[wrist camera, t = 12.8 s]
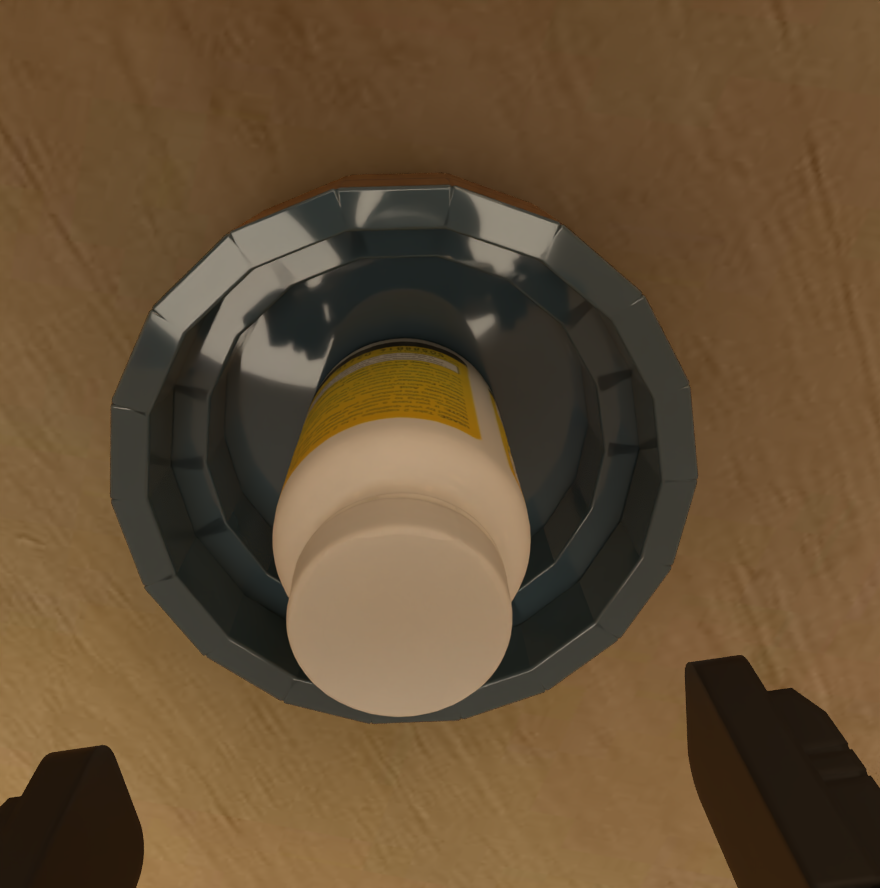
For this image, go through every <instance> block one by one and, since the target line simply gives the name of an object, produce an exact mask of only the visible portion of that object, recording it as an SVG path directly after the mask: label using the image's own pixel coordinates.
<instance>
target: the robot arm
mask: <svg viewBox="0 0 880 888" xmlns="http://www.w3.org/2000/svg"><path fill="white" fill-rule="evenodd" d="M685 691H686V716H687V742H688V756H689V762H690V768H691V772H692V777H693V780H694V784H695V787H696V790H697V793H698V796H699V799H700V801H701V803H702V806H703V808H704V810H705V813H706V815H707V817H708V820H709V822H710V824H711V827H712V829H713V831H714V834H715V836H716V838H717V840H718V843H719V845H720V847H721V850H722V852H723V854H724V857H725V859H726V861H727V864H728V866H729V868H730V871H731V873H732V875H733V878H734V880H735V882H736V884H737V887H738V888H880V788H879V787H878V785H877V784H876V782H875V781H874V779H873V778H872V777H871V776H868V775H867V772H866V768H865V767H864V765H863V764H862V762H861V761H860V760H859V758H858V757H857V755H856V754H855V753H854V751H853V750H852V749H849V747H848V743H847V741H846V740H845V738H844V737H843V736H842V734H841V733H840V731H839V730H838V729H837V727H836V726H835V724H834V723H833V721H832V720H831V719H830V717H829V716H828V714H827V713H826V712H825V711H824V710H822V709H821V708H819V707H818V706H817V705H815V704H814V703H812V702H811V701H810V700H808V699H807V698H805V697H804V696H802V695H801V694H800V693H798V692H797V691H795V690H794V689H793V688H787V689H780V690H773V691H767V690H766V689H765V687H764V685H763V684H762V682H761V681H760V679H759V677H758V676H757V674H756V673H755V671H754V669H753V668H752V666H751V665H750V663H749V662H748V660H747V659H746V658H745V657H744V656H742V655H737V656H730V657H723V658H716V659H709V660H702V661H695V662H688V663H687V664H686V668H685ZM143 856H144V840H143V832H142V828H141V824H140V821H139V819H138V816H137V813H136V811H135V808H134V806H133V803H132V800H131V798H130V795H129V792H128V790H127V787H126V784H125V782H124V779H123V776H122V774H121V771H120V768H119V766H118V763H117V760H116V758H115V756H114V753H113V752H112V750H111V749H110V748H109V747H108V746H106V745H100V746H93V747H87V748H80V749H73V750H66V751H59V752H52V753H49V754H48V755H46V756H45V757H44V758H43V759H42V761H41V762H40V764H39V766H38V767H37V769H36V771H35V773H34V775H33V776H32V778H31V780H30V782H29V783H28V785H27V787H26V789H25V790H24V792H23V794H22V796H20V797H13V798H9V799H8V800H7V801H6V802H5V803H3V804H2V805H1V806H0V888H136V886H137V883H138V880H139V877H140V874H141V870H142V865H143Z"/></svg>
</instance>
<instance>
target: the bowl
mask: <svg viewBox="0 0 880 888" xmlns="http://www.w3.org/2000/svg"><path fill="white" fill-rule="evenodd" d="M400 338H409V339H419V340H425V341H429V342H432V343H436V344H439V345H441V346H443V347H446V348H448V349H450V350H452V351H454V352H455V353H457V354H458V355H460V356H461V357H463V358H464V359H465V360H467V361H468V362H469V363H470V364H471V365H472V366H473V367H474V368H475V369H476V370H477V371H478V372H479V373H480V374H481V376H482V377H483V379H484V380H485V381H486V383H487V385H488V386H489V388H490V390H491V392H492V394H493V396H494V399H495V401H496V404H497V406H498V409H499V413H500V416H501V420H502V423H503V427H504V430H505V434H506V437H507V441H508V445H509V447H510V452H511V456H512V459H513V462H514V466H515V469H516V473H517V477H518V480H519V483H520V487H521V490H522V494H523V497H524V500H525V504H526V508H527V513H528V519H529V524H530V537H531V543H530V555H529V561H528V566H527V569H526V573H525V576H524V578H523V581H522V583H521V585H520V588H519V590H518V592H517V593H516V595H515V597H514V599H513V600H512V602H511V605H512V630H511V636H510V640H509V644H508V647H507V650H506V652H505V655H504V657H503V659H502V661H501V663H500V664H499V666H498V667H497V669H496V671H495V672H494V673H493V674H492V676H491V677H490V678H489V679H488V680H487V681H486V682H485V683H484V684H483V685H482V686H481V687H480V688H479V689H477V690H476V691H475V692H473V693H472V694H470V695H469V696H467V697H466V698H464V699H463V700H461V701H459V702H458V703H456V704H454V705H452V706H449V707H446V708H444V709H441V710H439V711H435V712H432V713H427V714H422V715H417V716H406V717H392V716H381V715H375V714H370V713H366V712H363V711H360V710H356V709H353V708H351V707H349V706H346V705H344V704H342V703H340V702H338V701H336V700H335V699H333V698H331V697H330V696H328V695H327V694H325V693H324V692H323V691H322V690H321V689H319V688H318V687H317V686H316V685H315V684H314V683H313V682H312V681H311V680H310V679H309V678H308V677H307V676H306V674H305V673H304V671H303V670H302V668H301V667H300V666H299V664H298V662H297V660H296V658H295V657H294V654H293V652H292V649H291V647H290V643H289V639H288V635H287V628H286V613H287V605H288V601H289V597H288V596H287V594H286V592H285V589H284V587H283V586H282V583H281V581H280V578H279V576H278V573H277V569H276V565H275V560H274V554H273V525H274V519H275V513H276V508H277V504H278V501H279V498H280V494H281V491H282V488H283V485H284V482H285V479H286V476H287V473H288V470H289V467H290V464H291V461H292V457H293V455H294V452H295V449H296V446H297V443H298V440H299V438H300V435H301V432H302V428H303V425H304V422H305V419H306V416H307V413H308V410H309V407H310V404H311V402H312V399H313V397H314V395H315V393H316V392H317V390H318V388H319V386H320V385H321V383H322V382H323V380H324V379H325V377H326V376H327V375H328V374H329V373H330V371H331V370H332V369H333V368H334V367H335V366H336V365H337V364H338V363H339V362H340V361H341V360H343V359H344V358H345V357H347V356H348V355H350V354H351V353H353V352H355V351H356V350H358V349H360V348H362V347H365V346H367V345H370V344H372V343H376V342H379V341H384V340H389V339H400ZM697 478H698V467H697V456H696V445H695V433H694V422H693V411H692V399H691V388H690V385H689V380H688V378H687V376H686V375H685V373H684V371H683V369H682V367H681V365H680V363H679V361H678V359H677V357H676V355H675V353H674V351H673V349H672V347H671V345H670V343H669V341H668V339H667V338H666V336H665V334H664V332H663V330H662V328H661V326H660V324H659V322H658V320H657V318H656V316H655V314H654V312H653V310H652V308H651V306H650V304H649V302H648V301H647V299H646V297H645V296H644V295H643V294H642V292H641V291H640V290H639V289H638V288H637V287H636V286H634V285H633V284H632V283H631V282H630V281H629V280H628V279H626V278H625V277H624V276H623V275H622V274H621V273H619V272H618V271H617V270H616V269H615V268H614V267H612V266H611V265H610V264H609V263H608V262H607V261H606V260H604V259H603V258H602V257H601V256H600V255H599V254H597V253H596V252H595V251H594V250H593V249H592V248H590V247H589V246H588V245H587V244H586V243H585V242H584V241H582V240H581V239H580V238H579V237H578V236H577V235H575V234H574V233H573V232H572V231H571V230H570V229H569V228H567V227H566V226H565V225H564V224H562V223H561V222H559V221H558V220H556V219H555V218H553V217H552V216H551V215H549V214H548V213H546V212H545V211H543V210H542V209H540V208H539V207H537V206H535V205H534V204H532V203H530V202H527V201H524V200H522V199H519V198H516V197H513V196H510V195H507V194H505V193H502V192H499V191H496V190H493V189H491V188H488V187H485V186H482V185H479V184H476V183H474V182H471V181H468V180H465V179H462V178H460V177H457V176H454V175H451V174H448V173H446V174H444V173H442V172H438V173H399V174H360V175H350V176H345V177H342V178H340V179H337V180H335V181H333V182H330V183H328V184H325V185H323V186H321V187H318V188H316V189H313V190H311V191H309V192H306V193H304V194H301V195H299V196H297V197H294V198H292V199H289V200H287V201H285V202H282V203H280V204H278V205H275V206H273V207H270V208H268V209H266V210H263V211H262V212H260V213H259V214H257V215H255V216H254V217H252V218H251V219H249V220H247V221H246V222H244V223H242V224H241V225H239V226H238V227H236V228H234V229H233V230H231V231H230V232H229V233H227V234H226V235H225V236H224V237H223V238H222V239H221V240H220V241H219V242H217V243H216V244H215V245H214V246H213V247H212V248H211V249H210V250H209V251H208V252H207V253H206V254H205V255H204V256H203V257H202V258H201V259H200V260H199V261H198V262H197V263H196V264H195V265H194V266H193V267H192V268H191V269H190V270H189V271H188V272H187V273H186V274H185V275H184V276H183V277H182V278H181V279H180V280H179V281H178V282H177V283H176V284H175V285H174V286H173V287H172V288H170V289H169V290H168V291H167V292H166V293H165V294H164V295H163V296H162V297H161V298H160V299H159V300H158V301H157V302H156V303H155V304H154V305H153V307H152V309H151V310H150V311H149V313H148V315H147V318H146V320H145V322H144V325H143V327H142V329H141V332H140V334H139V336H138V339H137V341H136V343H135V346H134V348H133V351H132V353H131V355H130V358H129V360H128V362H127V365H126V367H125V369H124V372H123V374H122V376H121V379H120V381H119V383H118V386H117V388H116V390H115V393H114V395H113V397H112V404H111V434H110V497H111V504H112V506H113V509H114V511H115V514H116V516H117V519H118V522H119V524H120V527H121V529H122V532H123V534H124V537H125V540H126V542H127V545H128V547H129V550H130V552H131V555H132V557H133V560H134V563H135V565H136V568H137V570H138V573H139V575H140V578H141V581H142V583H143V585H144V586H145V587H144V588H145V590H146V591H147V592H148V593H149V594H150V595H151V596H152V598H153V599H154V600H155V601H156V602H157V603H158V604H159V606H160V607H161V608H162V609H163V610H164V611H165V612H166V614H167V615H168V616H169V617H170V618H171V619H172V620H173V622H174V623H175V624H176V625H177V626H178V627H179V628H180V630H181V631H182V632H183V633H184V634H185V635H186V636H187V638H188V639H189V640H190V641H191V642H192V643H193V644H194V646H195V647H196V648H197V649H198V650H199V651H200V652H201V654H202V655H206V657H207V658H209V659H211V660H212V661H214V662H216V663H217V664H219V665H221V666H222V667H224V668H226V669H227V670H229V671H231V672H232V673H234V674H236V675H238V676H239V677H241V678H243V679H244V680H246V681H248V682H249V683H251V684H253V685H254V686H256V687H258V688H260V689H261V690H263V691H265V692H266V693H268V694H270V695H271V696H273V697H275V698H276V699H278V700H280V701H284V703H286V704H290V705H294V706H298V707H302V708H306V709H310V710H315V711H319V712H323V713H327V714H331V715H335V716H339V717H343V718H347V719H351V720H355V721H359V722H364V723H368V724H370V723H371V722H372V724H388V723H411V722H435V721H459V720H460V719H467V718H470V717H472V716H475V715H478V714H481V713H484V712H487V711H490V710H493V709H496V708H499V707H502V706H505V705H508V704H511V703H514V702H517V701H520V700H523V699H526V698H529V697H532V696H535V695H538V694H541V693H544V692H545V690H549V689H551V688H552V687H554V686H555V685H556V684H558V683H559V682H561V681H562V680H563V679H565V678H566V677H568V676H569V675H570V674H572V673H573V672H575V671H576V670H577V669H579V668H580V667H582V666H583V665H584V664H586V663H587V662H589V661H590V660H591V659H593V658H594V657H596V656H597V655H598V654H600V653H601V652H603V651H604V650H605V649H607V648H608V647H610V646H611V645H612V644H614V643H615V642H617V640H618V638H621V637H622V635H623V634H624V633H625V631H626V630H627V629H628V627H629V626H630V625H631V623H632V622H633V620H634V619H635V618H636V616H637V615H638V614H639V612H640V611H641V610H642V608H643V607H644V605H645V604H646V603H647V601H648V600H649V599H650V597H651V596H652V595H653V593H654V592H655V590H656V589H657V588H658V586H659V585H660V584H661V582H662V581H663V580H664V578H665V577H666V575H667V574H668V573H669V571H670V570H671V566H672V565H673V563H674V559H675V556H676V553H677V549H678V546H679V542H680V539H681V536H682V532H683V529H684V525H685V522H686V519H687V515H688V512H689V508H690V505H691V501H692V498H693V495H694V491H695V488H696V484H697Z"/></svg>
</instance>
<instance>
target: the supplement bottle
mask: <svg viewBox="0 0 880 888" xmlns="http://www.w3.org/2000/svg"><path fill="white" fill-rule="evenodd" d="M530 543H531V537H530V524H529V519H528V513H527V508H526V504H525V500H524V497H523V494H522V490H521V487H520V483H519V480H518V477H517V473H516V469H515V466H514V462H513V459H512V456H511V452H510V447H509V445H508V441H507V437H506V434H505V430H504V427H503V423H502V420H501V416H500V413H499V409H498V406H497V404H496V401H495V399H494V396H493V394H492V392H491V390H490V388H489V386H488V385H487V383H486V381H485V380H484V379H483V377H482V376H481V374H480V373H479V372H478V371H477V370H476V369H475V368H474V367H473V366H472V365H471V364H470V363H469V362H468V361H467V360H465V359H464V358H463V357H461V356H460V355H458V354H457V353H455V352H454V351H452V350H450V349H448V348H446V347H443V346H441V345H439V344H436V343H432V342H429V341H425V340H419V339H409V338H400V339H389V340H384V341H379V342H376V343H372V344H370V345H367V346H365V347H362V348H360V349H358V350H356V351H355V352H353V353H351V354H350V355H348V356H347V357H345V358H344V359H343V360H341V361H340V362H339V363H338V364H337V365H336V366H335V367H334V368H333V369H332V370H331V371H330V373H329V374H328V375H327V376H326V377H325V379H324V380H323V382H322V383H321V385H320V386H319V388H318V390H317V392H316V393H315V395H314V397H313V399H312V402H311V404H310V407H309V410H308V413H307V416H306V419H305V422H304V425H303V428H302V432H301V435H300V438H299V440H298V443H297V446H296V449H295V452H294V455H293V457H292V461H291V464H290V467H289V470H288V473H287V476H286V479H285V482H284V485H283V488H282V491H281V494H280V498H279V501H278V504H277V508H276V513H275V519H274V525H273V554H274V560H275V565H276V569H277V573H278V576H279V578H280V581H281V583H282V586H283V587H284V589H285V592H286V594H287V596H288V597H289V601H288V605H287V613H286V628H287V635H288V639H289V643H290V647H291V649H292V652H293V654H294V657H295V658H296V660H297V662H298V664H299V666H300V667H301V668H302V670H303V671H304V673H305V674H306V676H307V677H308V678H309V679H310V680H311V681H312V682H313V683H314V684H315V685H316V686H317V687H318V688H319V689H321V690H322V691H323V692H324V693H325V694H327V695H328V696H330V697H331V698H333V699H335V700H336V701H338V702H340V703H342V704H344V705H346V706H349V707H351V708H353V709H356V710H360V711H363V712H366V713H370V714H375V715H381V716H392V717H406V716H417V715H422V714H427V713H432V712H435V711H439V710H441V709H444V708H446V707H449V706H452V705H454V704H456V703H458V702H459V701H461V700H463V699H464V698H466V697H467V696H469V695H470V694H472V693H473V692H475V691H476V690H477V689H479V688H480V687H481V686H482V685H483V684H484V683H485V682H486V681H487V680H488V679H489V678H490V677H491V676H492V674H493V673H494V672H495V671H496V669H497V667H498V666H499V664H500V663H501V661H502V659H503V657H504V655H505V652H506V650H507V647H508V644H509V640H510V636H511V630H512V605H511V602H512V600H513V599H514V597H515V595H516V593H517V592H518V590H519V588H520V585H521V583H522V581H523V578H524V576H525V573H526V569H527V566H528V561H529V555H530Z"/></svg>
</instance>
